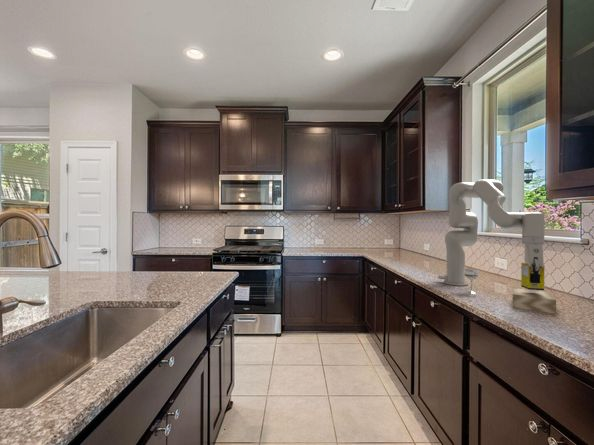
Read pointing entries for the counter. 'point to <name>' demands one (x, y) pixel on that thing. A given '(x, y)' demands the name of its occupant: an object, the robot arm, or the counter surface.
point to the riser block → (534, 300)
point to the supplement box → (526, 278)
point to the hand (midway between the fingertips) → (532, 281)
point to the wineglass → (471, 277)
